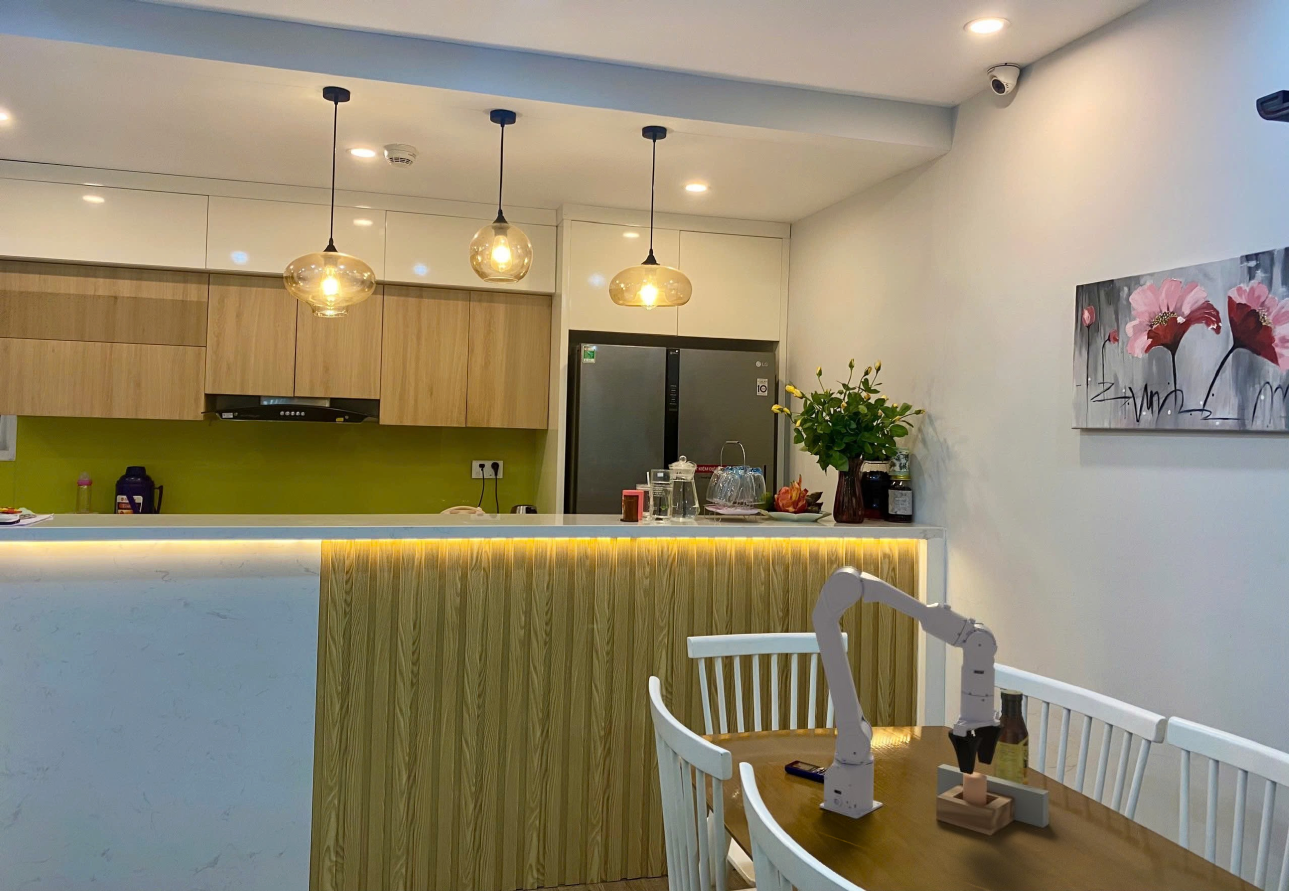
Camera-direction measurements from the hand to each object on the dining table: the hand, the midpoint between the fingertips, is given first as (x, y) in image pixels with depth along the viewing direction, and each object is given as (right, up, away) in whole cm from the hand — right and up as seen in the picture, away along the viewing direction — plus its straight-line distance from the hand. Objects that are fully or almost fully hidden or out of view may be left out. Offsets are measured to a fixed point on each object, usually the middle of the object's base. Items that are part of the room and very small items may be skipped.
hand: (975, 767), depth 171 cm
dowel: (0, -9, 0) cm, 9 cm away
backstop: (+4, -10, +5) cm, 11 cm away
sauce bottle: (+12, -10, +14) cm, 20 cm away
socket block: (0, -9, 0) cm, 9 cm away
